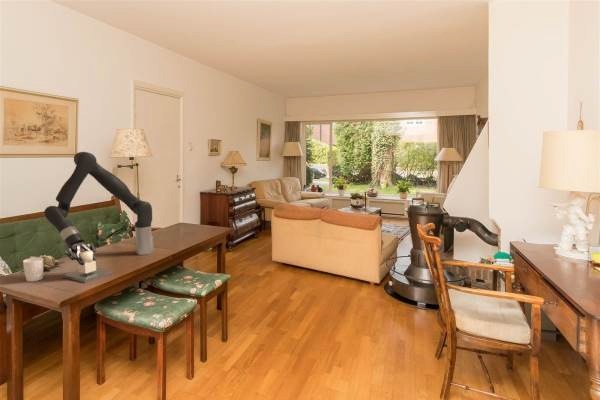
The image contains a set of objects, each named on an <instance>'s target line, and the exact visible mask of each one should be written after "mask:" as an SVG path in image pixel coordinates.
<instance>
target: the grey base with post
mask: <svg viewBox="0 0 600 400" xmlns="http://www.w3.org/2000/svg"><path fill="white" fill-rule="evenodd" d="M111 274H112V271H111V270H109V269H108V270H107V269H102V268H100V267H96V271H92V272H89V273H86V274H85V273H80V272H78V270H76V271H73V272H70V273H65V274H63V279H67V280H72V281H75V282H80V283H83V284H84V283H88V282H89V283H90V282H92V281H94V280H97V279H100V278H103V277H105V276H109V275H111Z"/></svg>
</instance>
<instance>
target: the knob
mask: <svg viewBox="0 0 600 400" xmlns="http://www.w3.org/2000/svg"><path fill="white" fill-rule="evenodd" d="M80 257H81V258H82V260H83V261H84V265H82V266H81V265H80V264H79V263H78V262H77V271H78V272H80V273H85V274H86V273H89V272H92V271H96V268H97V262H96V261H97V260H96V261H93V252H92V251H87V250H86V251H83V252H80Z"/></svg>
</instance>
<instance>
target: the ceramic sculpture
mask: <svg viewBox="0 0 600 400" xmlns="http://www.w3.org/2000/svg"><path fill="white" fill-rule="evenodd" d="M37 257H40V258H43V270H47V271H51V270H53V269H55V268H56V267H55V266H60V265H62V264H65V261H59V260H58V259H55V258H54V256H52V255H46V254H45V253H43V254H40V255H39V256H32V255H31V256H29V259H30V258H37Z"/></svg>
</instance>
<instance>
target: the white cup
mask: <svg viewBox="0 0 600 400" xmlns="http://www.w3.org/2000/svg"><path fill="white" fill-rule="evenodd" d="M36 257H37V258H30V257H29V258H26V259H24V260H22V263H23V264H22V265H23V272H24V276H25V280H26V282H28V283H29V282H36V281H40V280H43V279H44V269H43V258H40V257H39V256H36Z"/></svg>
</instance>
